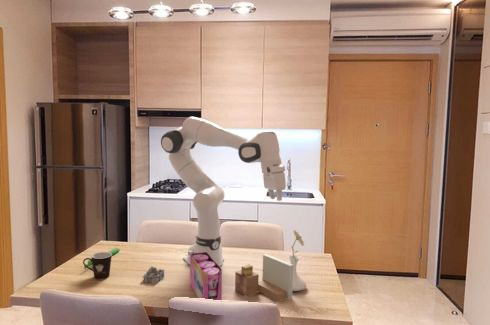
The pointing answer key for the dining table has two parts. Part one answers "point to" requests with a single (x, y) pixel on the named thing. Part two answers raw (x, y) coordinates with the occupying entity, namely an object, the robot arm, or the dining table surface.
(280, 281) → the bookend
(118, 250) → the green onion
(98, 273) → the coffee mug
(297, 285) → the flower in vase
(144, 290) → the dining table surface
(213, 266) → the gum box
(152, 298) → the dining table surface
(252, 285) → the wooden block
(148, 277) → the grey jagged rock
